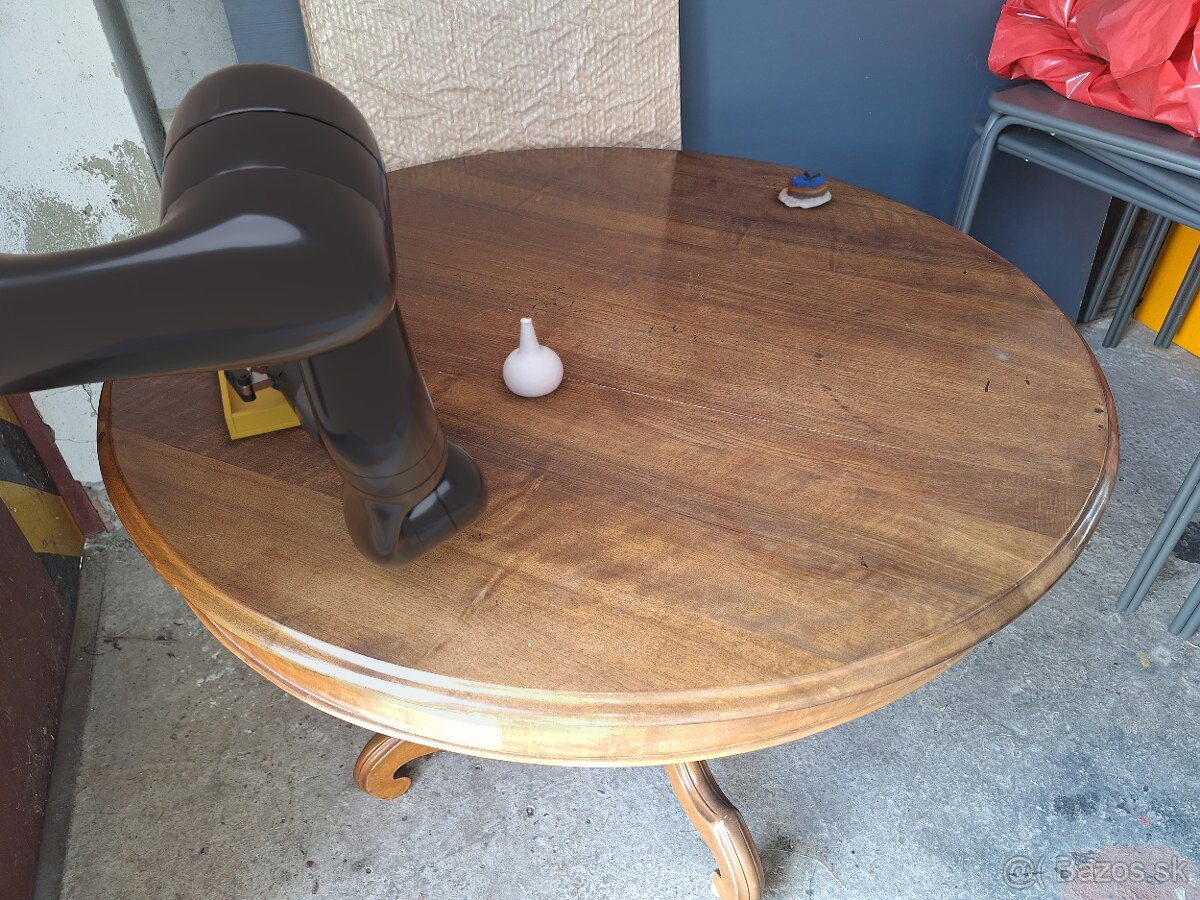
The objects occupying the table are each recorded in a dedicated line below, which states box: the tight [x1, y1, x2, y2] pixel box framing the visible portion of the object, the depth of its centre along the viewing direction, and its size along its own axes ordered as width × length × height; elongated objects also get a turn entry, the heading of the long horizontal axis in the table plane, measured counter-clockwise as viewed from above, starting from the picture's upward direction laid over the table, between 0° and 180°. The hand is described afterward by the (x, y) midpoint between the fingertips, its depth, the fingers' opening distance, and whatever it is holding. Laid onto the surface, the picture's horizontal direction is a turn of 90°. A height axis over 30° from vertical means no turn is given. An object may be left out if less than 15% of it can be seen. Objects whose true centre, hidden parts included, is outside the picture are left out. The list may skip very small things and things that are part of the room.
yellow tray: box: [217, 370, 302, 441], centre depth 93 cm, size 14×14×3 cm
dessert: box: [778, 170, 832, 209], centre depth 135 cm, size 8×7×6 cm
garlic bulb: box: [502, 317, 564, 398], centre depth 92 cm, size 6×6×8 cm
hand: (282, 322), depth 88 cm, fingers open, 8 cm apart
